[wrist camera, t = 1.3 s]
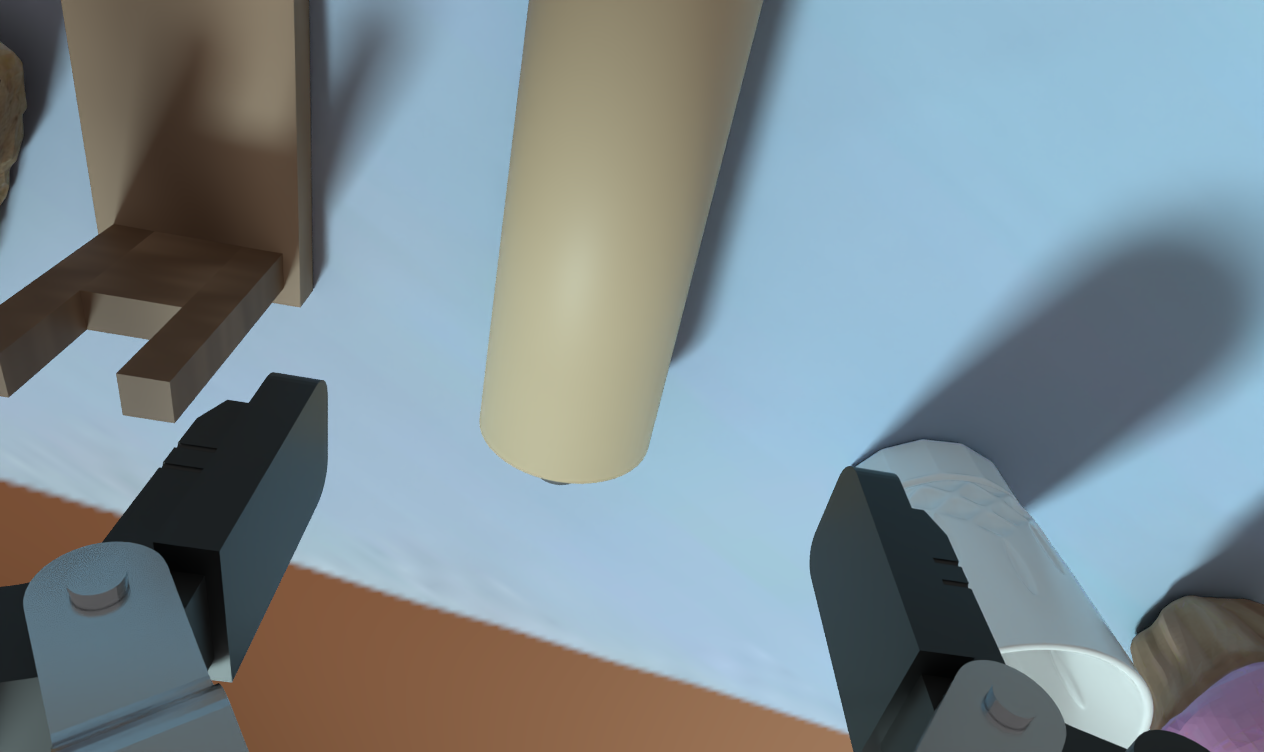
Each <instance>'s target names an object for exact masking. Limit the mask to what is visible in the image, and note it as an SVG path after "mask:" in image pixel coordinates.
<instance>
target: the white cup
mask: <svg viewBox="0 0 1264 752" xmlns="http://www.w3.org/2000/svg"><path fill="white" fill-rule="evenodd" d="M855 467H858V468H865V469H871V470H877V471H883V472H889V473H895V474H896V475H897V476H898V477H899V479H900V481H901V483H902V486H903V488H904V490H905V493H906V495H907V497H908V500H909V502H910V505H911V507H912V508H914V509H921V510H924V511H925V512H926V513H927V514H928V515H929V516H930V517H931V518H932V519H933V520H934V522H935V523H936V524H937V525H938V526H939V527H940V528H941V529H942V530H943V531H944V532H945V534H946V535H947V536H948V538H949V541H950V543H951V545H952V547H953V549H954V552H955V554H956V556H957V558H958V560H959V563H958V566H960V567H962V569H963V571H964V574H965V576H966V578H967V580H968V582H969V584H968V588H970V589H972V591H973V593H974V596H975V598H976V600H977V602H978V604H979V607H980V609H981V611H982V613H983V615H984V618H985V620H986V622H987V624H988V626H989V629H990V631H991V633H992V635H993V637H994V640H995V642H996V644H997V646H998V648H999V650H1000V653H1001V655H1002V657H1003V659H1004V661H1005V664H1006V665H1008V666H1010V667H1012V668H1015V669H1017V670H1018V671H1020V672H1022V673H1024V674H1025V675H1027V676H1028V677H1029V678H1031V679H1032V680H1034V681H1035V682H1036V683H1037V684H1038V685H1040V686H1041V687H1042V688H1043V689H1044V690H1045V691H1046V692H1047V693H1048V695H1049V696H1050V697H1051V698H1052V700H1053V701H1054V702H1055V704H1056V705H1057V707H1058V708H1059V710H1060V712H1061V714H1062V717H1063V719H1064V722H1065V723H1066V724H1068V725H1070V726H1072V727H1075V728H1077V729H1079V730H1082V731H1084V732H1087V733H1089V734H1092V735H1094V736H1097V737H1099V738H1101V739H1104V740H1106V741H1109V742H1111V743H1114V744H1116V745H1119V746H1121V747H1123V748H1126V749H1128V748H1129V747H1130V745H1131V744H1132V743H1133V742H1134V741H1135V740H1136V738H1137V737H1138V736H1139V735H1141V734H1142V733H1143V732H1146V731H1149V729H1150V726H1151V723H1152V719H1153V711H1154V706H1153V699H1152V695H1151V692H1150V689H1149V687H1148V685H1147V684H1146V682H1145V680H1144V679H1143V678H1142V676H1141V675H1140V673H1139V672H1138V670H1137V669H1136V667H1135V666H1134V664H1133V663H1132V661H1131V660H1130V658H1129V657H1128V655H1127V654H1126V652H1125V651H1124V650H1123V648H1122V647H1121V645H1120V644H1119V642H1118V641H1117V639H1116V638H1115V636H1114V635H1113V633H1112V632H1111V630H1110V629H1109V627H1108V626H1107V624H1106V623H1105V621H1104V620H1103V618H1102V617H1101V615H1100V613H1099V612H1098V610H1097V609H1096V607H1095V606H1094V604H1093V603H1092V601H1091V600H1090V598H1089V597H1088V595H1087V594H1086V592H1085V591H1084V589H1083V588H1082V587H1081V585H1080V583H1079V582H1078V580H1077V579H1076V577H1075V576H1074V575H1073V573H1072V572H1071V570H1070V569H1069V567H1068V566H1067V565H1066V563H1065V562H1064V561H1063V559H1062V558H1061V557H1060V555H1059V554H1058V553H1057V551H1056V550H1055V548H1054V547H1053V546H1052V544H1051V543H1050V541H1049V540H1048V538H1047V537H1046V535H1045V534H1044V532H1043V531H1042V530H1041V528H1040V527H1039V526H1038V524H1037V523H1036V522H1035V520H1034V519H1033V518H1032V517H1031V516H1030V515H1029V513H1028V512H1027V511H1026V510H1025V509H1024V508H1023V507H1022V506H1021V505H1020V504H1019V502H1018V500H1017V499H1016V498H1015V496H1014V495H1013V493H1012V491H1011V490H1010V488H1009V487H1008V485H1007V484H1006V482H1005V481H1004V479H1003V478H1002V476H1001V474H1000V473H999V471H998V470H997V468H996V467H995V465H994V464H993V463H992V462H991V461H990V460H988V459H987V458H985V457H983V456H982V455H980V454H978V453H977V452H975V451H974V450H972V449H970V448H969V447H967V446H965V445H964V444H961V443H953V442H944V441H935V440H926V439H921V440H917V441H913V442H908V443H904V444H900V445H896V446H892V447H888V448H884V449H881V450H880V451H878V452H877V453H875V454H874V455H872V456H871V457H869V458H867V459H866V460H864V461H863V462H861V463H860V464H858V465H857V466H855Z"/></svg>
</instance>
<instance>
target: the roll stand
mask: <svg viewBox="0 0 1264 752" xmlns="http://www.w3.org/2000/svg"><path fill="white" fill-rule="evenodd" d="M61 4H62V10H63V17H64V23H65V29H66V35H67V42H68V48H69V54H70V60H71V67H72V73H73V79H74V85H75V91H76V98H77V104H78V110H79V116H80V123H81V129H82V135H83V141H84V148H85V154H86V160H87V166H88V173H89V179H90V185H91V191H92V197H93V204H94V210H95V216H96V222H97V229H98V235H97V236H96V237H95V238H93V239H92V240H90V241H89V242H88V243H86V244H85V245H83V246H82V247H81V248H79V249H78V250H76V251H75V252H74V253H72V254H71V255H69V256H68V257H67V258H65V259H64V260H62V261H61V262H60V263H58V264H57V265H55V266H54V267H53V268H51V269H50V270H48V271H47V272H46V273H44V274H43V275H41V276H40V277H38V278H37V279H36V280H34V281H33V282H31V283H30V284H29V285H27V286H26V287H24V288H23V289H22V290H20V291H19V292H17V293H16V294H15V295H13V296H12V297H10V298H9V299H8V300H6V301H5V302H3V303H2V304H1V305H0V396H2V397H10V396H11V395H12V394H13V393H14V392H16V391H17V390H18V389H19V388H20V387H21V386H23V385H24V384H25V383H26V382H27V381H28V380H29V379H31V378H32V377H33V376H34V375H35V374H36V373H37V372H39V371H40V370H41V369H42V368H43V367H44V366H45V365H47V364H48V363H49V362H50V361H51V360H52V359H54V358H55V357H56V356H57V355H58V354H59V353H60V352H62V351H63V350H64V349H65V348H66V347H67V346H68V345H70V344H71V343H72V342H73V341H74V340H75V339H77V338H78V337H79V336H80V335H81V334H82V333H83V332H85V331H86V330H93V331H99V332H106V333H112V334H118V335H124V336H130V337H136V338H142V339H148V340H149V341H148V342H147V343H146V344H145V345H144V346H143V347H142V348H141V349H140V350H139V351H138V352H137V353H136V354H135V355H134V356H133V357H132V358H131V359H130V360H129V361H128V362H127V363H126V364H125V365H124V366H123V367H122V368H121V369H120V370H119V371H118V372H117V373H116V376H117V382H118V388H119V394H120V400H121V406H122V412H123V415H125V416H132V417H138V418H145V419H151V420H158V421H164V422H171V423H175V422H176V421H177V420H178V418H179V417H180V416H181V415H182V413H183V412H184V411H185V410H186V409H187V407H188V406H189V405H190V404H191V402H192V401H193V400H194V399H195V397H196V396H197V395H198V394H199V392H200V391H201V390H202V389H203V387H204V386H205V385H206V384H207V383H208V381H209V380H210V379H211V378H212V376H213V375H214V374H215V373H216V371H217V370H218V369H219V368H220V366H221V365H222V364H223V363H224V362H225V360H226V359H227V358H228V357H229V355H230V354H231V353H232V352H233V350H234V349H235V348H236V347H237V345H238V344H239V343H240V342H241V340H242V339H243V338H244V337H245V336H246V334H247V333H248V332H249V331H250V329H251V328H252V327H253V326H254V324H255V323H256V322H257V321H258V319H259V318H260V317H261V316H262V315H263V313H264V312H265V311H266V310H267V308H268V307H269V306H270V305H271V303H277V304H283V305H289V306H295V307H301V306H302V305H303V303H304V302H305V301H306V299H307V298H308V296H309V295H310V294H311V292H312V291H313V264H312V185H311V107H310V28H309V0H61Z"/></svg>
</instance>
